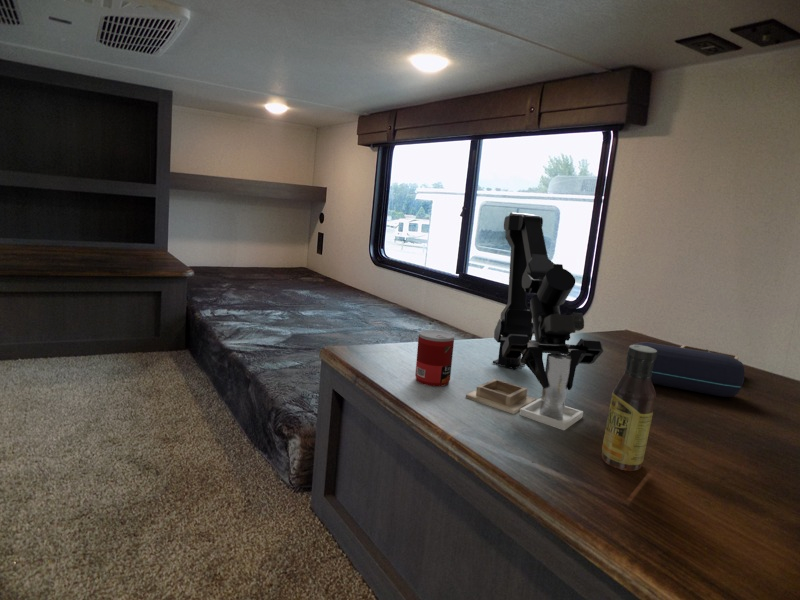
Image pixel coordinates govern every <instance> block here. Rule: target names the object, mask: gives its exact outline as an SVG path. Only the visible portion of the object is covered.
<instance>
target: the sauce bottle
mask: <svg viewBox="0 0 800 600" xmlns="http://www.w3.org/2000/svg"><path fill="white" fill-rule="evenodd" d="M626 353H627V355H628V360H627V359H626V360H627V365H625V369H624V372H623V374H622V375H621V377H620V378H619V380H618V383H617V384H616V385H615V387H614V389H613V390H612V393H611V397H610V402H609V403H610V404H609V409H608V414H607V418H606V425H605V431H604V436H603V441H602V442H603V443H602V445H601V450H602V452H601V459H602V460H603V462H605V464H607V465H609V466H611V467H613V468H615V469H618V470H622V471H623V470H624V471H628V472H633V471H638V470H641V469H642V463H643V462H644V458H645V453H646V449H647V443H648V439H649V433H650V428H651V426H652V425H651V424H652V419H653V415H654V406H655V401H656V398H657V397H656V395H657V394H656V389H655V387H654V384H652V382H651V376H652V369H653V364H654V361H655V360H656V357H657V350H655V349H653V348H651V347H648V346H643V345H633V344H630V345H629V346H628V347H627V351H626Z"/></svg>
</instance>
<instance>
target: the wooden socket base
mask: <svg viewBox="0 0 800 600" xmlns="http://www.w3.org/2000/svg"><path fill="white" fill-rule="evenodd" d="M465 398H467V399H469V400H471V401H472V400H473V401H475V402H477V403H480V404H483V405H486V406H489V407H491V408H494V409H497V410H500V411H504V412H507V413H510V414H512V415H515V414H516V413H519V412H520V409H521V408H523V407H525V406H526V405H528V404H530V403H532V402H534V401H536V400H537V398H535V397H532V396H529V395H528V388H527V387H523V386H520V385H517V384H514V383H510V382H507V381H504V380H501V379H498V378H494V379H492V380H489V381H487V382H484V383H482V384H479V385H477V386H476V389H475V390H473V391H471V392H469V393H465Z"/></svg>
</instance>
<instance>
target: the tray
mask: <svg viewBox="0 0 800 600" xmlns="http://www.w3.org/2000/svg"><path fill="white" fill-rule="evenodd" d="M541 399H542V397H541V398H536V401H534V402H532V403H530V404H528V405H526V406H525V407H523V408H521V409H520V411H519V412H518V413H519V415H518V416H522V417H524V418H527V419H530V420H533V421H536V422H539V423H541V424H544V425H547V426H551V427H554V428H555V429H559V430H562V431H566V430H567V429H568V428H570V427H571V426H572V425H574V424H575V423H577V422H578V421H579V420H581V419H582V418H583V415H584V411H583V410H580V409H578V408H577V409H576V408H573V407H570V406H567V405H565V407H564V414H563V419H562V420H559V421H558V420H555V419H552V418H549V417H546V416H543V415H540V414H539V413H540V406H541Z"/></svg>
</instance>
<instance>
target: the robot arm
mask: <svg viewBox="0 0 800 600" xmlns="http://www.w3.org/2000/svg"><path fill="white" fill-rule="evenodd" d="M543 223H544V218H543V216H540V215H536V214H534V213H521V212H510V213H509V214H508V215H506V216H505V218H504V221H503V230H504V231H505V234H504V235H505V236H504V237H505V240H506V242H507V243H508V245H509V247H510V259H509V274H508V275H509V276H508V277H509V278H508V293H507V294H508V295H507V304H506V305H505V307H504V308H503V310H502V311H501V313H500V319H498V321H497V324H496V325H495V328H494V333H493V338H494V340H495V341H496V343H499V349H498V350H499V351H498V357H497V359H494V360H492V363H493V364H494V365H498V366H502V367H505V368H509V369H511V370H516V369H518V368H521V367H523V366H526V367H527V368H528V369H529V370H530V372H532V374H533V375H534V377H535V378H536V380H537V381H538V383H539V385H540V386H541V387H542V389H543V388H546V387H547V379H546V374H545V369H546V368H545V365H544V360H543V354H551V353H556V354H563V355H566V356H569V357H571V365H570V372H569V379H568V386H567V391H570V390H572V389H573V384H574V379H575V374H576V369H577V367H578V366H579V364H581V365H582V364H583V365H592V364H594V363H595V362H596V360H597V359H598V358H599V357H600V356H601V355H602V354H603V353H604V347H603V343H602V342H601V341H600V340H599V339H596V338H595V339H591V338H580V339H579V340H578V342H577V343H576V344H568V343H567V344H566V341H570V340H571V334H575V333H576V331H577V332H580V331H582V330H583V329H584V328H585V319H584V315H583V313H582V312H572V313H571V314H561V310H560V306H562V305H564V304H565V302H566V300H567V298H568V297H569V295H570V294H571V292H572V291H573V288H574V286H575V285H576V277H575V276H574V275H573V274H572V273H571V272H570V271H569V270H568V269H566V268H564V266H563V264H559V263H554V262H553V261H552V260H550V258H549V256H548V251H547V246H546V241H545V236H544V231H543ZM527 294H528V295H533V296H532V297H531V299H530V300H529V304H530V306H529V307H528V304H527ZM533 335H534V340H533V339H532V338H533Z"/></svg>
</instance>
